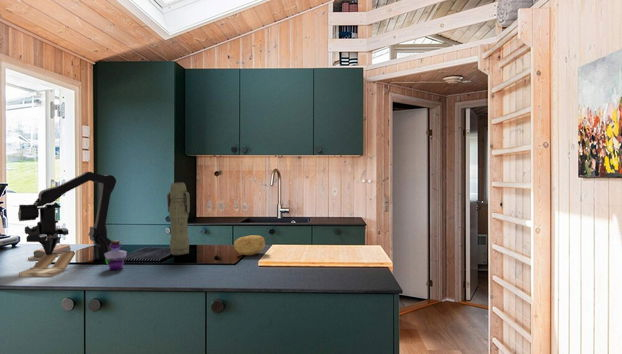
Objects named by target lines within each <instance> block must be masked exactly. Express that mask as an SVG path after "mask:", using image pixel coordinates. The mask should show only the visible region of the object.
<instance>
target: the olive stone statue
mask: <svg viewBox="0 0 622 354" xmlns="http://www.w3.org/2000/svg"><path fill="white" fill-rule="evenodd" d="M169 189H170V190H169V192H168V193H167V197H166V199H167V213H169V220H170V240H169V248H170V249H169V250H170V255H171V254H172V256H182V255H188V254H189V253H190V239H189V237H188V234H189V233H188V231H189V230H188V228H189V227H188V219H189V214H190V212H191V211H190V210H191V204H190V201H191V200H190V199H191V198H190V195H191V194H190V193H189V192H188V191H187V186H186V183H184V182H183V181H182V182H179V181H178V182H172V183H171V185H170V188H169Z"/></svg>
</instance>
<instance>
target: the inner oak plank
mask: <svg viewBox="0 0 622 354" xmlns="http://www.w3.org/2000/svg"><path fill="white" fill-rule="evenodd" d="M75 255H76V252H75V250H70V251H63V252H62V254H61V255H60V257H57V259H56V261H55V262H54V264H53V266H52V267H51V268H64V271H65V270H66V269H67V267H68V266H69V264H70V263H71V261H72V259H73V258H74V257H75Z"/></svg>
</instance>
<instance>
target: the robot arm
mask: <svg viewBox="0 0 622 354" xmlns="http://www.w3.org/2000/svg"><path fill="white" fill-rule="evenodd" d="M88 182H93V183H98V190H99V200H98V204H97V211H96V216H95V217H96V218H95V221H94V222H95V223H94V225H93V226H89V232H88V236H89V239H90V240H89V241H91V242H93V244H94V245H95V246H94V249H93V255H94V257H93V261H105V259H106V258H105V255H104V254H105V253H107V252H110V251H112V248H110V244H111V241H112V240H111V239H110V238H108V232H107V231H108V230H107V219H108V211H109V207H110V200H111V195H112V193H113V191H114V189H115V186H116V184H117V179H116V177H115V176H114V175H111V174H100V173H96V172H95V173H94V172H92V171H85V172H84V173H82V174H80V175H77V176H76V177H74V178H71V179H69V180H68V181H65V182H64V183H61V184H59V185H56V186H53V187H49V188H48V187H47V188H46V189H43V190H41V191H40V192H39V193H38V196H37V197H38V198H37V199H35V201H34V203H33V204H19V205H18V206H19V207H18V212H17V216H18V217H17V219H18V222H25V221H28V222H29V221H35V220H36V219H38V218H39V221H38V222H37V223H36V225H35V226H32V225H27V226H24V234H26V235H27V236H26V239H25V240H26V243H39V244H41V246H42V249H43V248H44V251H45V253H46V255H49V254H52V252H53V250H54V248H55V246H56V245H58V243H59V241H60V239H61V238H62V237H61V236H58V235H62V236H67V235H69V229H68V228H66V227H63V228H62V227H61V228H60V227H58V228H57V223H59V220H58V219H57V216H56V209H57V208H58V209H60V208H61V207H62V206H61V205H59V204H58V202H55V201H57V200H59V199H60V198H61V197H62V196H63V195H64V194H65V193H68V192H70V191H72V190H74V189H75V188H77V187H79V186H82V185H83V184H85V183H88Z"/></svg>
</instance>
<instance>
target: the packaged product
mask: <svg viewBox="0 0 622 354" xmlns="http://www.w3.org/2000/svg"><path fill="white" fill-rule="evenodd" d="M70 245H71V244H70ZM70 245H69V243H68V244H66V243H65V244H63V243H61V244H56V246H55V248H54V250H53V252H52V253H57V257H56V258H59V257H58V256H60V255H61V254H62V252H63V251H72V250H71V246H70ZM44 254H45V251H44V248H43V247H42V248H40V249H36V250H34V251H33V255H32V256H29V257H27V259H28V261H39V260H40V259H41V258H42V257H43V256H44Z"/></svg>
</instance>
